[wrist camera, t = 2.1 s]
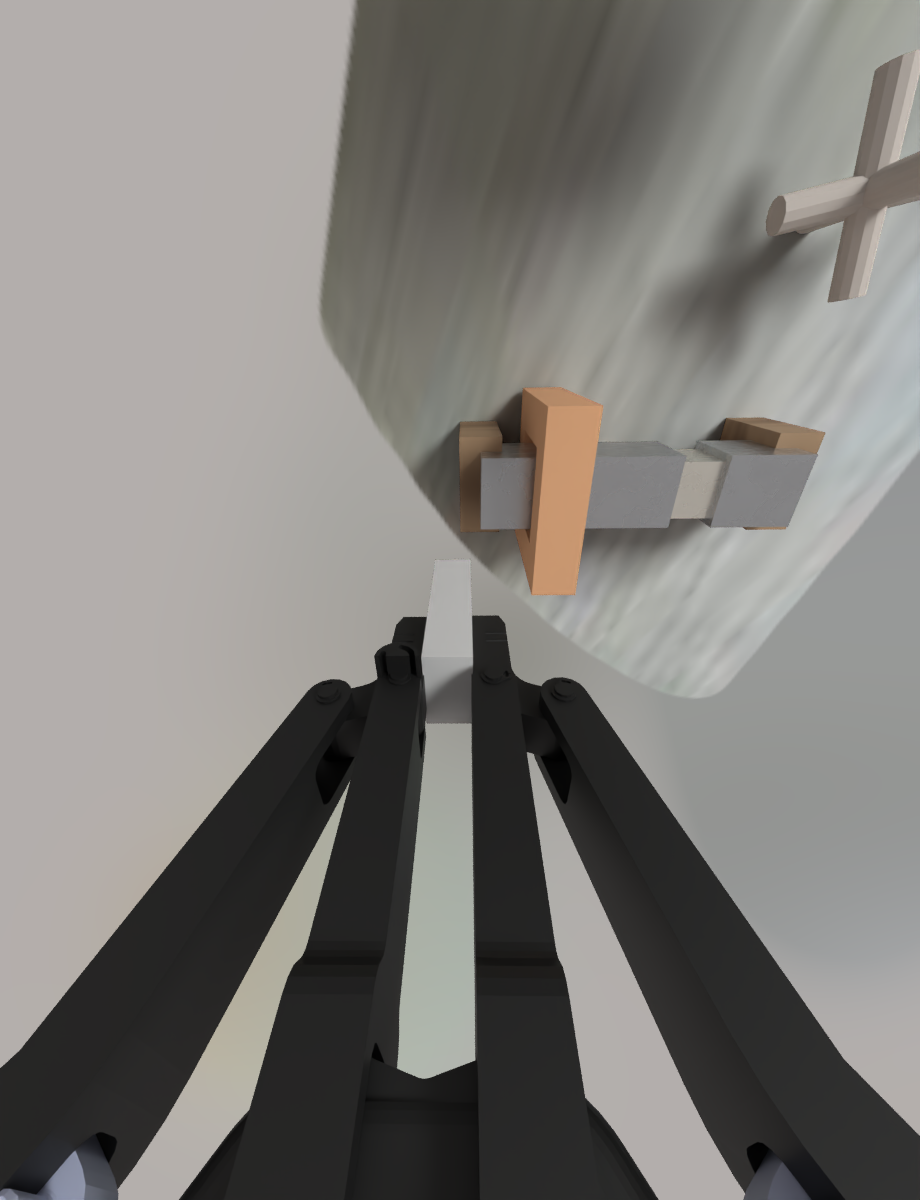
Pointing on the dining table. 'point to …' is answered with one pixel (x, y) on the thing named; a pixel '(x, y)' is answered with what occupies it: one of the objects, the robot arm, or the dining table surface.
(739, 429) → the stand
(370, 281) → the dining table surface
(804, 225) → the pipe connector
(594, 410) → the peach rectangular loop
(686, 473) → the grey long bar
